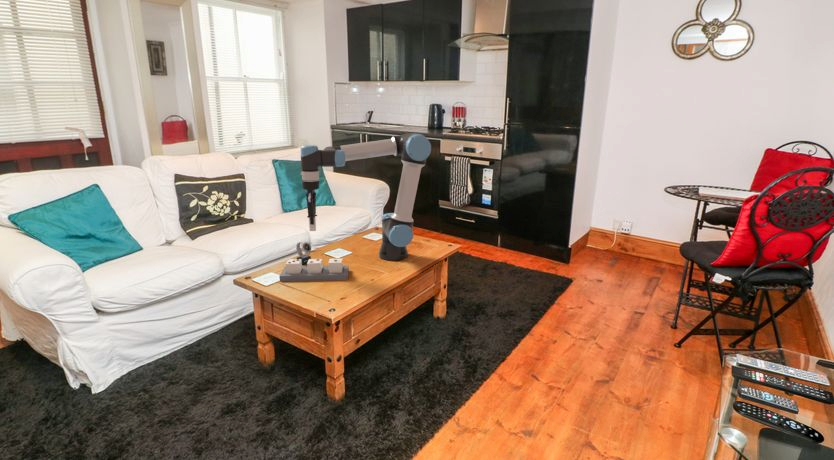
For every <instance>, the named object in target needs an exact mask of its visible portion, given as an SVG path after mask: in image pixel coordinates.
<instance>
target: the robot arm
mask: <svg viewBox="0 0 834 460" xmlns="http://www.w3.org/2000/svg"><path fill="white" fill-rule="evenodd" d="M431 151H432V144H431V142H430V140H429V139H428V138H427V136H425V135H424V134H421V133H416V132H407V133H404V134H399V135H394V136H392V137H391V138H388V139H379V140H373V141H366V142H358V143H352V144H351V143H349V144H343V145H338V146H336V145H335V146H327V147H325V148H323V149H319V147H318V145H315V144H313V145H312V144H307V145H306V144H305V145H302V146H301V147H300V163H301V164H300V166H301V172H300V175H301V180H302V181H301V184H302V185H301V186H302V188H301V189H302V190H304V191H305V190H306V191H307V192H306V194H305V197H306V198H305V199H306V207H307V216H306V217H307V218H308V222H309V223H308V224H309V225H308V226H309V232H316V231H317V224H316V220H317V219H316V217H317V216H318V214H317V199H316V198H317V192H316V191H315V190H319V189H320V181H319V180H320V170H319V168H326V167H327V168H329V167H330V168H332V167H333V168H339V167H345V166H346V162H347V161H356V160H362V159H368V158H369V159H370V158H376V157H385V156H390V155H394V156H395V157H398V156H401V159H400V162H402V164H403V165H402V169H401V176H400V181H399V184H398V191H397V196H396V202H395V206H394V212H386V213H384V214H382V215H381V230H382V231H381V236H382V237H381V239H382V240H381V246H380V248H379V252H378V257H379V258H380V259H381V260H386V261H401V259H402V260H404V258H405V259H407V258H408V257H407V256H409V255H408V254H409V251H408V249H407V246H408V245H410V244H411V243H412V241H413V239H414V231H413V226H414V219H413V217H412V215H413V210H414V204H415V200H416V195H417V191H418V185H419V181H420V175H421V171H422V168H423V167H425V166H426V163H427V159H428V157H429V156H430V155H431ZM406 257H407V258H406Z"/></svg>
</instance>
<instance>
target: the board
mask: <svg viewBox="0 0 834 460" xmlns="http://www.w3.org/2000/svg"><path fill="white" fill-rule="evenodd" d="M322 267H323V269H322V272H321V273H309V274H308V271H307V265H306V266H305V265H302V270H301V273H300V274H286V266H284V268H283V269H282V271H281V272H280V274H279V282H305V281H307V282H308V281H309V282H310V281H311V282H312V281H313V282H314V281H347V280H348V278H349V273H350V272H349V271H350V266H349V265H343V270H342V273H329V269H328V265H322Z"/></svg>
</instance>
